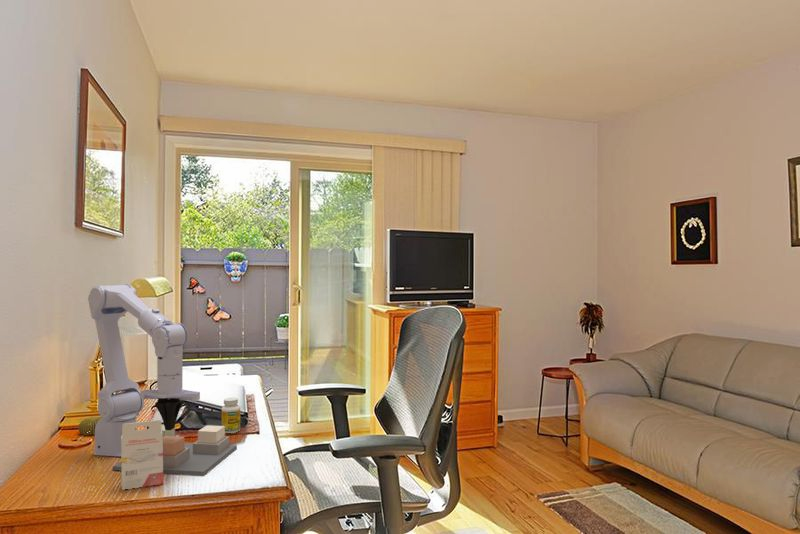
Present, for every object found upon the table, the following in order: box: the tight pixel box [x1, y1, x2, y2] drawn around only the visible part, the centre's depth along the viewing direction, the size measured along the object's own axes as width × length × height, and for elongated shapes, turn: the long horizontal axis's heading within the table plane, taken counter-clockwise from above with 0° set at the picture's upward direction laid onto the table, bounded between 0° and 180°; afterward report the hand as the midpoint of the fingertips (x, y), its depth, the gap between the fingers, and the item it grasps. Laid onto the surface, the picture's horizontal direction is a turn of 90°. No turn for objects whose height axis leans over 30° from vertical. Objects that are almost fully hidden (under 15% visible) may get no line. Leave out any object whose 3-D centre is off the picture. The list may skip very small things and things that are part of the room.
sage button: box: [161, 423, 176, 437], centre depth 148 cm, size 5×5×4 cm
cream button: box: [197, 424, 226, 444], centre depth 147 cm, size 5×5×4 cm
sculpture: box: [77, 416, 102, 436], centre depth 164 cm, size 8×4×8 cm
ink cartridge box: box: [120, 419, 164, 491], centre depth 127 cm, size 9×5×15 cm, turn 114°
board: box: [112, 434, 238, 477], centre depth 143 cm, size 23×19×4 cm
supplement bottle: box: [221, 397, 241, 434], centre depth 166 cm, size 5×5×10 cm
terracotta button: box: [163, 436, 186, 456], centre depth 138 cm, size 5×5×4 cm
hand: (169, 429), depth 138 cm, fingers closed
